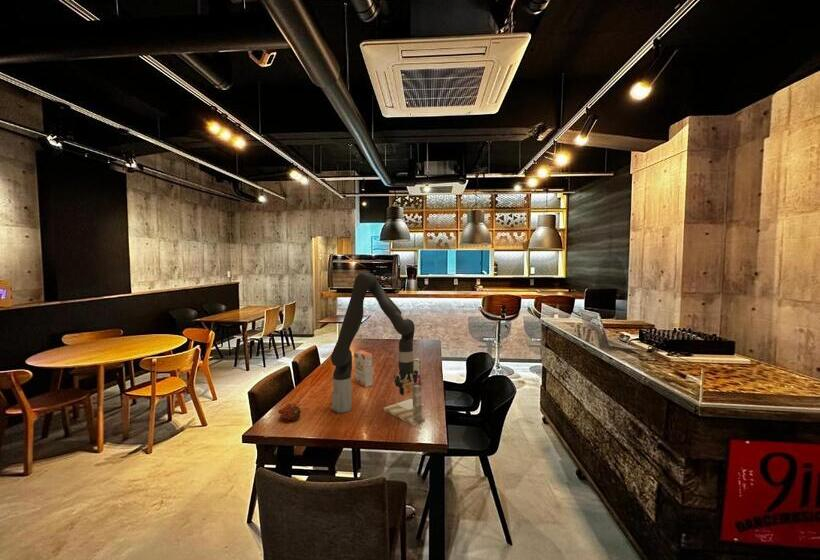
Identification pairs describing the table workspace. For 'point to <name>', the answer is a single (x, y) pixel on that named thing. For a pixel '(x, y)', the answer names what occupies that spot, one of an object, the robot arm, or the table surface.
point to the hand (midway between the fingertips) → (406, 393)
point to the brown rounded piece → (290, 412)
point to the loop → (409, 391)
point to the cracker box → (363, 368)
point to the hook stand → (404, 414)
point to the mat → (407, 404)
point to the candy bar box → (417, 367)
